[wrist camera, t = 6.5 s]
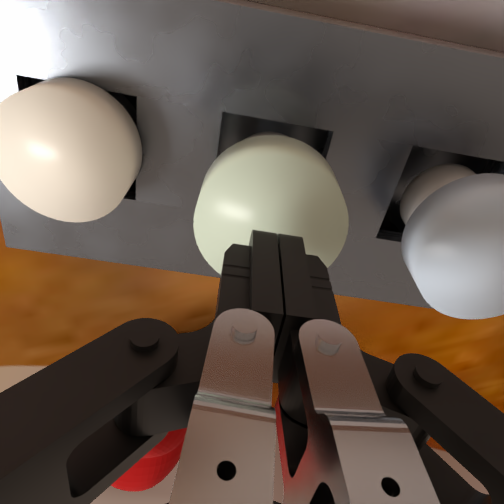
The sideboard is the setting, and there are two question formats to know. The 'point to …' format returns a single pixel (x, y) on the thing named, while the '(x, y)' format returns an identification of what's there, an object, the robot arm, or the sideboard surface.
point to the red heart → (153, 464)
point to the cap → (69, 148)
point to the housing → (255, 118)
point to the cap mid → (270, 198)
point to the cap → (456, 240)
